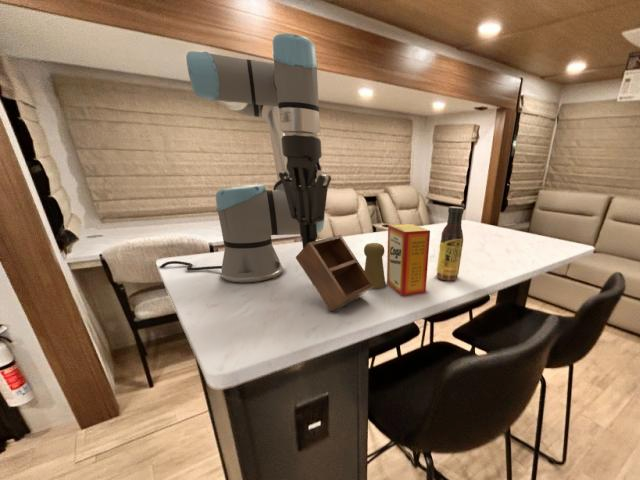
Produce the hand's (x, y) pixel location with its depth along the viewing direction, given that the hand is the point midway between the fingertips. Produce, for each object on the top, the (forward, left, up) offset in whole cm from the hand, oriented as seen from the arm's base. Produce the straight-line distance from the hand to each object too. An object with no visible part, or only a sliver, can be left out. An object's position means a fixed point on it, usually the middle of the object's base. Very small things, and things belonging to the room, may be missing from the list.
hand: (310, 252), depth 70 cm
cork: (+8, +14, -11) cm, 19 cm away
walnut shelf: (+5, 0, -5) cm, 7 cm away
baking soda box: (+16, +17, -11) cm, 26 cm away
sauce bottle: (+22, +31, -11) cm, 40 cm away
